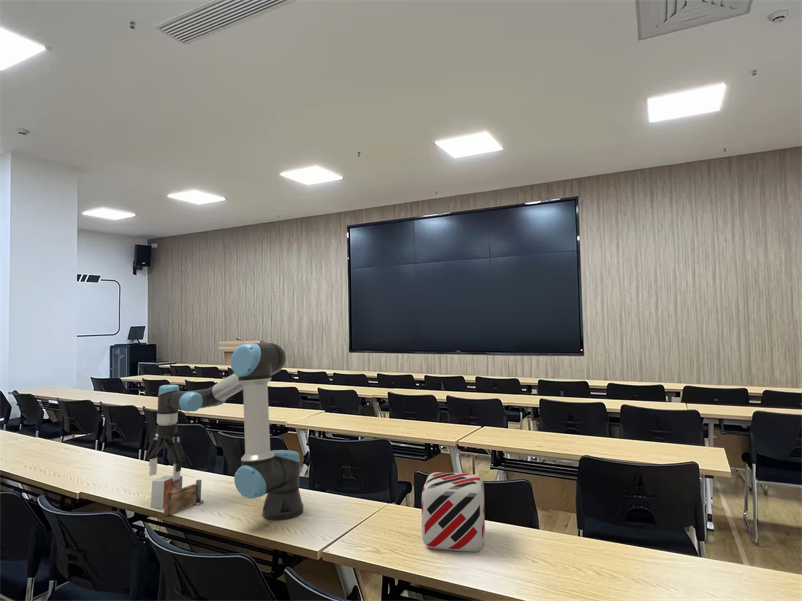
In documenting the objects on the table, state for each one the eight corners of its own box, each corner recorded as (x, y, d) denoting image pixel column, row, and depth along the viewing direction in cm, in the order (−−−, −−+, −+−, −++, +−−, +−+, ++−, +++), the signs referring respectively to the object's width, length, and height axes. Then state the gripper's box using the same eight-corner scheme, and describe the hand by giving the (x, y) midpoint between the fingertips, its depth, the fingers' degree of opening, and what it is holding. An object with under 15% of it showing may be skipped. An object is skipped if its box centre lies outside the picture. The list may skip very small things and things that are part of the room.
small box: (162, 509, 179) (164, 481, 180) (150, 508, 180) (151, 480, 181) (176, 502, 187) (177, 475, 188) (164, 501, 188) (165, 474, 189)
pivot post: (206, 502, 186) (207, 479, 187) (197, 505, 182) (198, 482, 183) (198, 500, 188) (199, 478, 189) (189, 504, 184) (190, 481, 185)
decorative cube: (485, 557, 139) (484, 489, 141) (420, 552, 143) (419, 486, 145) (484, 530, 159) (484, 471, 161) (427, 526, 163) (427, 468, 164)
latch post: (185, 496, 194) (186, 475, 194) (178, 498, 191) (179, 477, 191) (177, 494, 196) (178, 474, 196) (170, 497, 193) (171, 476, 193)
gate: (193, 503, 184) (194, 481, 185) (197, 504, 183) (197, 482, 184) (163, 515, 172) (164, 491, 173) (167, 515, 171) (168, 492, 172)
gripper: (197, 424, 185) (194, 479, 183) (154, 419, 195) (151, 470, 193) (181, 428, 178) (178, 484, 176) (138, 422, 188) (134, 475, 186)
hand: (164, 477), depth 185 cm, fingers open, 13 cm apart
